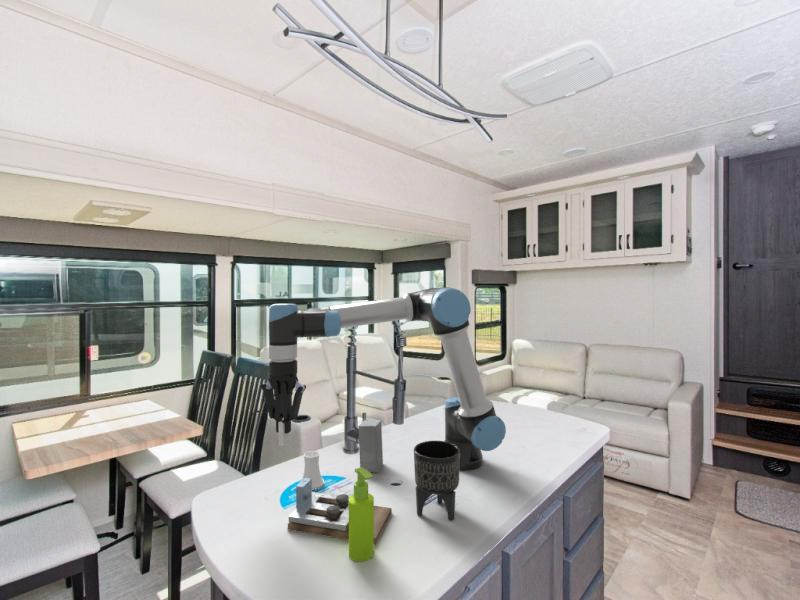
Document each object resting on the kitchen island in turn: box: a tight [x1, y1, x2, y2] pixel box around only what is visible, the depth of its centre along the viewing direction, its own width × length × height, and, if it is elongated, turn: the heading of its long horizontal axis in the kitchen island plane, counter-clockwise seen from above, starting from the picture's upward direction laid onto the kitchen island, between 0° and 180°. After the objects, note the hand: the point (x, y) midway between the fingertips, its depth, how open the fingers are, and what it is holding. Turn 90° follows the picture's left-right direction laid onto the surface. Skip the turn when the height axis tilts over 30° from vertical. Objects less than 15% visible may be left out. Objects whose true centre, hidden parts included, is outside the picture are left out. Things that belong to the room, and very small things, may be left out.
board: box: [287, 493, 393, 546], centre depth 107 cm, size 24×14×5 cm, turn 75°
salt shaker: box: [299, 450, 325, 491], centre depth 127 cm, size 8×8×10 cm
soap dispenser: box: [348, 466, 375, 563], centre depth 94 cm, size 6×7×20 cm
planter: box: [413, 440, 461, 522], centre depth 112 cm, size 13×13×18 cm
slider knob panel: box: [288, 478, 349, 531], centre depth 108 cm, size 16×13×7 cm
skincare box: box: [357, 419, 384, 473], centre depth 140 cm, size 8×7×16 cm
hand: (283, 444), depth 111 cm, fingers closed
